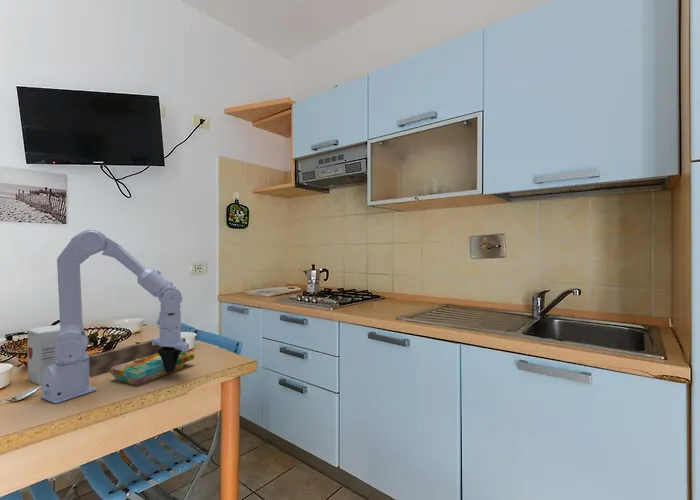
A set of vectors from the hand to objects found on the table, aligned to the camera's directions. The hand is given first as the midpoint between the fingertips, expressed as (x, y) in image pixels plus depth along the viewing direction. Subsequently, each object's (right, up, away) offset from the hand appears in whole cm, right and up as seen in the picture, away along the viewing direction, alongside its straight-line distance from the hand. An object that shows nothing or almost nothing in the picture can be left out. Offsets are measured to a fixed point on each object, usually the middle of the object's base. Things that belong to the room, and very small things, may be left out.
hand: (170, 371), depth 106 cm
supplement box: (-35, -2, -2) cm, 35 cm away
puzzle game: (-6, -2, +3) cm, 8 cm away
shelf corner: (-14, -1, +9) cm, 17 cm away
